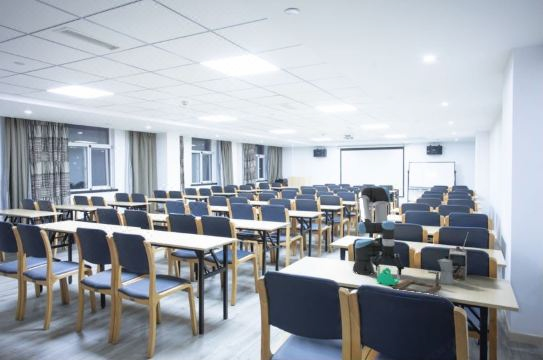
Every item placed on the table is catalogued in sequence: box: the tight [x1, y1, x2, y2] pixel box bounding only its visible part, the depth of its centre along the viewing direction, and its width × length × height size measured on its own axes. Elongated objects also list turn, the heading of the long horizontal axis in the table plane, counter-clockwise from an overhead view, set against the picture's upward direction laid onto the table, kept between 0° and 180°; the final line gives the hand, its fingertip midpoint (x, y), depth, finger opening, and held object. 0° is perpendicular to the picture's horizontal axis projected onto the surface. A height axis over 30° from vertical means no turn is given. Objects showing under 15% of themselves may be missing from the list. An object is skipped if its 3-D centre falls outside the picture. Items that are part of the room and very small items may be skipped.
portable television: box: [448, 231, 469, 281], centre depth 250 cm, size 12×24×30 cm, turn 152°
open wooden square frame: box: [391, 270, 441, 295], centre depth 226 cm, size 22×21×10 cm
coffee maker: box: [436, 254, 461, 285], centre depth 236 cm, size 15×9×18 cm, turn 45°
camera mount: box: [376, 267, 400, 287], centre depth 236 cm, size 12×8×10 cm, turn 52°
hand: (388, 277), depth 236 cm, fingers open, 13 cm apart
